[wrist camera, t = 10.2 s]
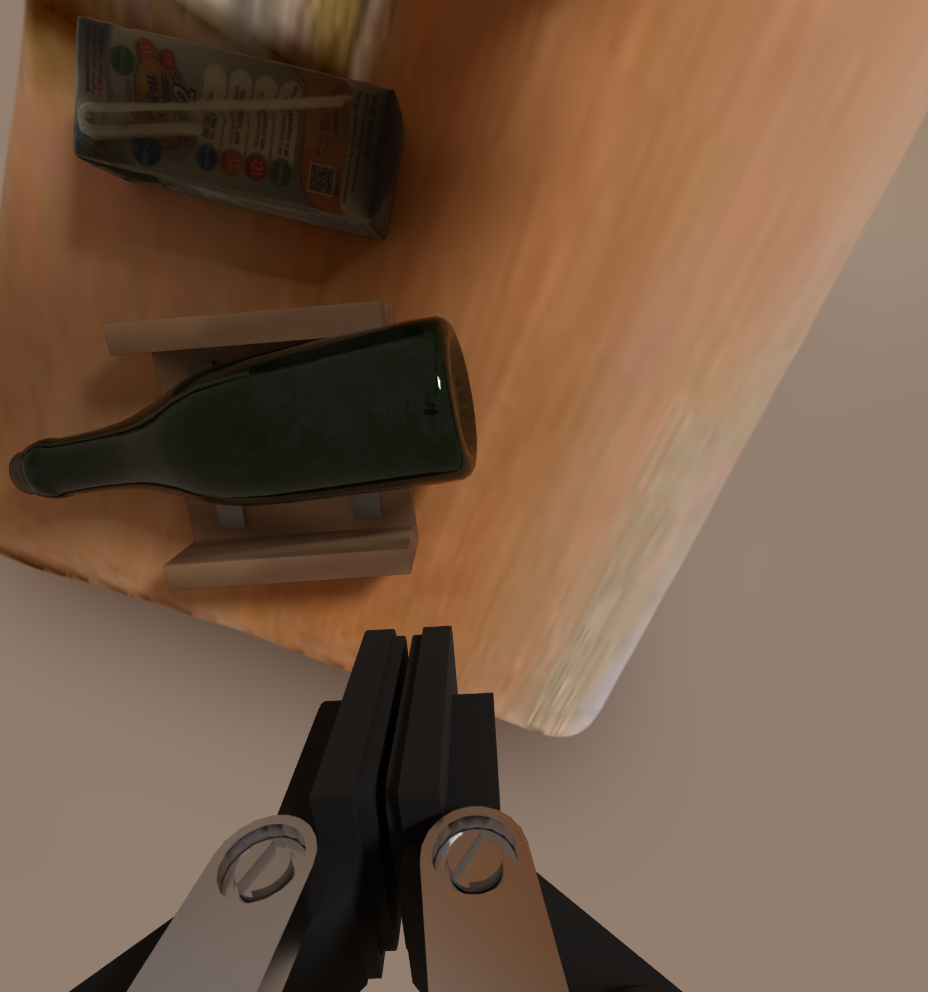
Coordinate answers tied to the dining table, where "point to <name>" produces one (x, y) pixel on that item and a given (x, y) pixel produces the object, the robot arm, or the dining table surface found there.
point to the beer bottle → (285, 426)
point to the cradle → (282, 527)
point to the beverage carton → (237, 128)
